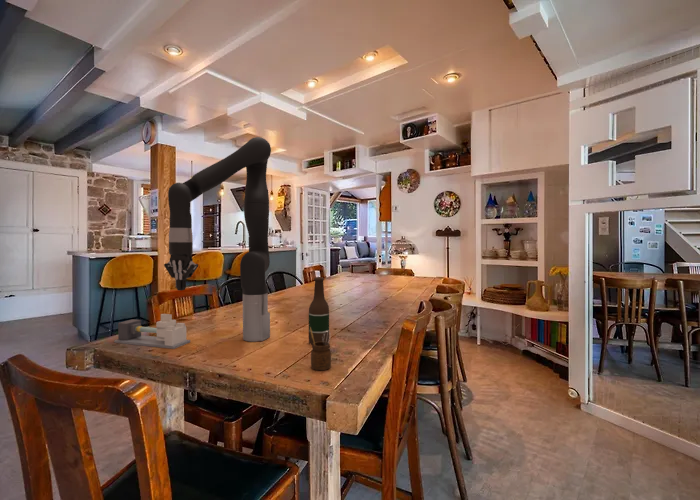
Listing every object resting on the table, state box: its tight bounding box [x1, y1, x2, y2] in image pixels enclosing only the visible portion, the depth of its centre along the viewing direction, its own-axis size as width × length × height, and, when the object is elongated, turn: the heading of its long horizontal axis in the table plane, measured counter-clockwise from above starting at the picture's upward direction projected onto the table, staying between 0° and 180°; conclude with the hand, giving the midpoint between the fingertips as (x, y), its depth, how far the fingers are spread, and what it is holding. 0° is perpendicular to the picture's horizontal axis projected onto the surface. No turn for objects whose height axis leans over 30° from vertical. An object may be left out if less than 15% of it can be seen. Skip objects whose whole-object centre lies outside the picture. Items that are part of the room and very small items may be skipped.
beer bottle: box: [308, 276, 330, 346], centre depth 127 cm, size 8×8×24 cm
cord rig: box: [114, 319, 191, 350], centre depth 126 cm, size 26×8×7 cm, turn 75°
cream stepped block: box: [155, 313, 177, 341], centre depth 124 cm, size 4×5×9 cm
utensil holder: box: [310, 327, 332, 371], centre depth 102 cm, size 6×6×12 cm
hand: (181, 290), depth 122 cm, fingers closed
